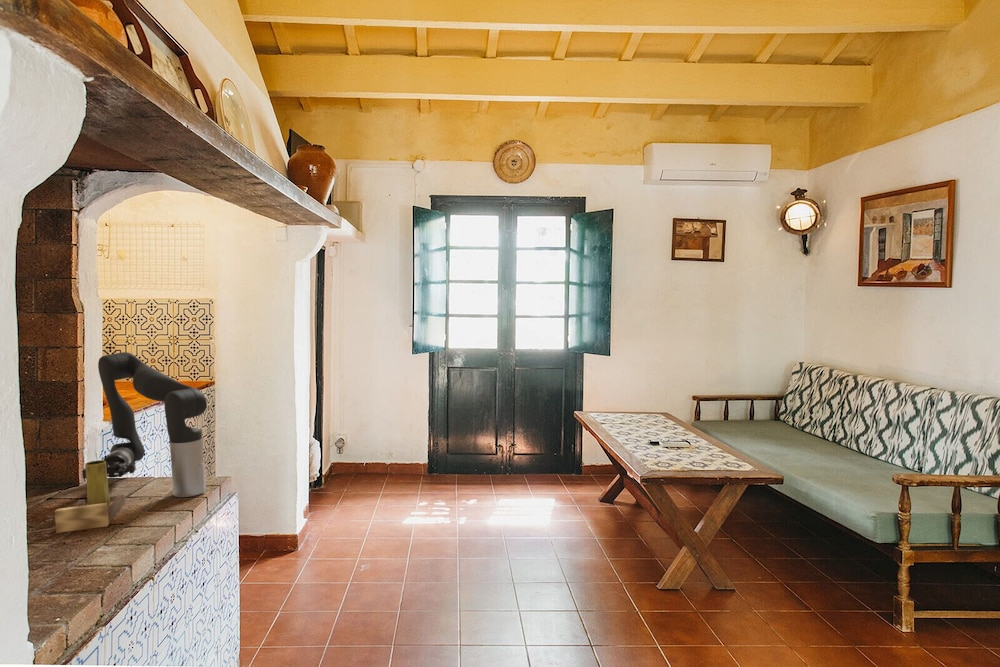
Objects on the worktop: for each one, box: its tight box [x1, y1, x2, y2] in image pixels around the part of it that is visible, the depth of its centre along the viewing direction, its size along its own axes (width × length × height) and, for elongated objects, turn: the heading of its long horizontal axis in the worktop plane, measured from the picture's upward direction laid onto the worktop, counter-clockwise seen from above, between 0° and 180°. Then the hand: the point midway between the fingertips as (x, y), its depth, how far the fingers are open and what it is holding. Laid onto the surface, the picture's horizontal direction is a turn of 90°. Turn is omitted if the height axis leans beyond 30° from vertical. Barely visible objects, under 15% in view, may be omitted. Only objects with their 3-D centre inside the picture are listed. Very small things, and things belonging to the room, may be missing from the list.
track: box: [54, 494, 126, 534], centre depth 186 cm, size 12×22×6 cm, turn 19°
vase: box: [84, 459, 112, 508], centre depth 193 cm, size 6×6×14 cm
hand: (104, 475), depth 201 cm, fingers open, 8 cm apart
